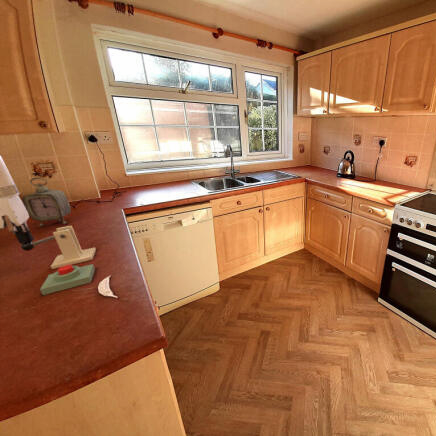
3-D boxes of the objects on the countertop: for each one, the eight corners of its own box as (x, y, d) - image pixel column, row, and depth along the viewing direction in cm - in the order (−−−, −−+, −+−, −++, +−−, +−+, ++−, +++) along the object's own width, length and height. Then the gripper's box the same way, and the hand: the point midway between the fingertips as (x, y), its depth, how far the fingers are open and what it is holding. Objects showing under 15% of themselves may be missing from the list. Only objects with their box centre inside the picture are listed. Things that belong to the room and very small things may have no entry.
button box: (42, 295, 75) (37, 284, 73) (51, 280, 82) (46, 270, 81) (90, 282, 80) (86, 272, 79) (95, 269, 88) (91, 259, 86)
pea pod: (97, 281, 81) (96, 277, 80) (113, 276, 83) (112, 272, 83) (100, 305, 70) (98, 301, 69) (118, 298, 72) (116, 294, 72)
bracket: (51, 269, 89) (36, 237, 84) (58, 258, 96) (45, 228, 91) (92, 259, 94) (80, 229, 89) (96, 249, 101) (85, 221, 96)
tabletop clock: (35, 228, 125) (12, 180, 115) (47, 221, 133) (27, 176, 124) (67, 225, 127) (47, 178, 118) (77, 219, 136) (60, 174, 126)
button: (58, 276, 78) (56, 272, 77) (61, 271, 81) (59, 266, 80) (72, 273, 79) (70, 268, 79) (75, 267, 82) (73, 263, 82)
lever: (23, 253, 86) (17, 246, 84) (27, 249, 88) (20, 242, 87) (70, 237, 91) (65, 229, 89) (72, 234, 93) (67, 226, 92)
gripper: (-4, 189, 84) (21, 236, 91) (-29, 200, 72) (2, 254, 79) (25, 185, 87) (47, 231, 94) (6, 195, 75) (33, 247, 82)
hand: (27, 241), depth 86 cm, fingers closed
